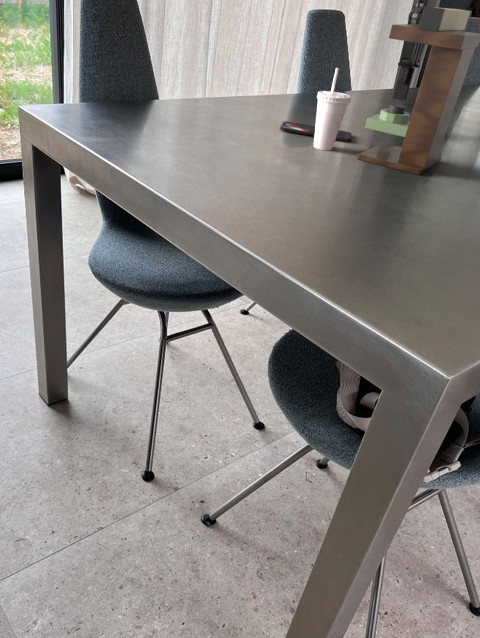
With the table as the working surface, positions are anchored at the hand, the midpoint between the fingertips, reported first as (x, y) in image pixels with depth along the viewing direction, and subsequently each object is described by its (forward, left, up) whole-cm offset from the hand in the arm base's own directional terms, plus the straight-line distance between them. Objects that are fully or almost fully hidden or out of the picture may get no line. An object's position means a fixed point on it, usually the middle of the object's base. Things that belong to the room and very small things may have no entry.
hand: (399, 99), depth 128 cm
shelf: (-10, +26, -7) cm, 29 cm away
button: (0, 0, -3) cm, 3 cm away
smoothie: (+4, +31, -7) cm, 32 cm away
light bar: (-10, +22, +15) cm, 29 cm away
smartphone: (+10, +21, -7) cm, 24 cm away
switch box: (0, 0, -7) cm, 7 cm away
